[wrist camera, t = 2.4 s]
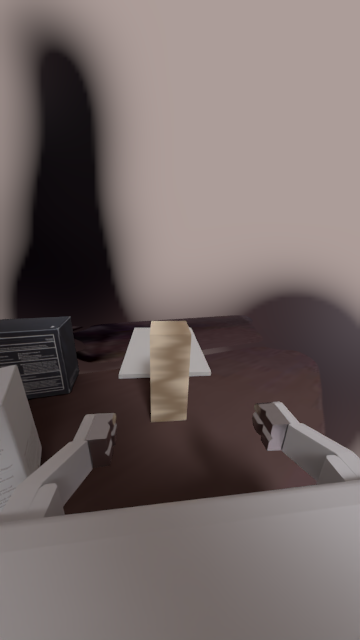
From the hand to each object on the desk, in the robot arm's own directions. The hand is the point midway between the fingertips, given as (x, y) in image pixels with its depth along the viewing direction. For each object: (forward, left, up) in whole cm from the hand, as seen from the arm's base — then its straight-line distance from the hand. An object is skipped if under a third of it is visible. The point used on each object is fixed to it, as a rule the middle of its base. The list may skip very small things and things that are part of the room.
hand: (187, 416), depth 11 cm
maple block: (0, +12, -11) cm, 17 cm away
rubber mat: (0, +30, -11) cm, 32 cm away
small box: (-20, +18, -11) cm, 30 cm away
